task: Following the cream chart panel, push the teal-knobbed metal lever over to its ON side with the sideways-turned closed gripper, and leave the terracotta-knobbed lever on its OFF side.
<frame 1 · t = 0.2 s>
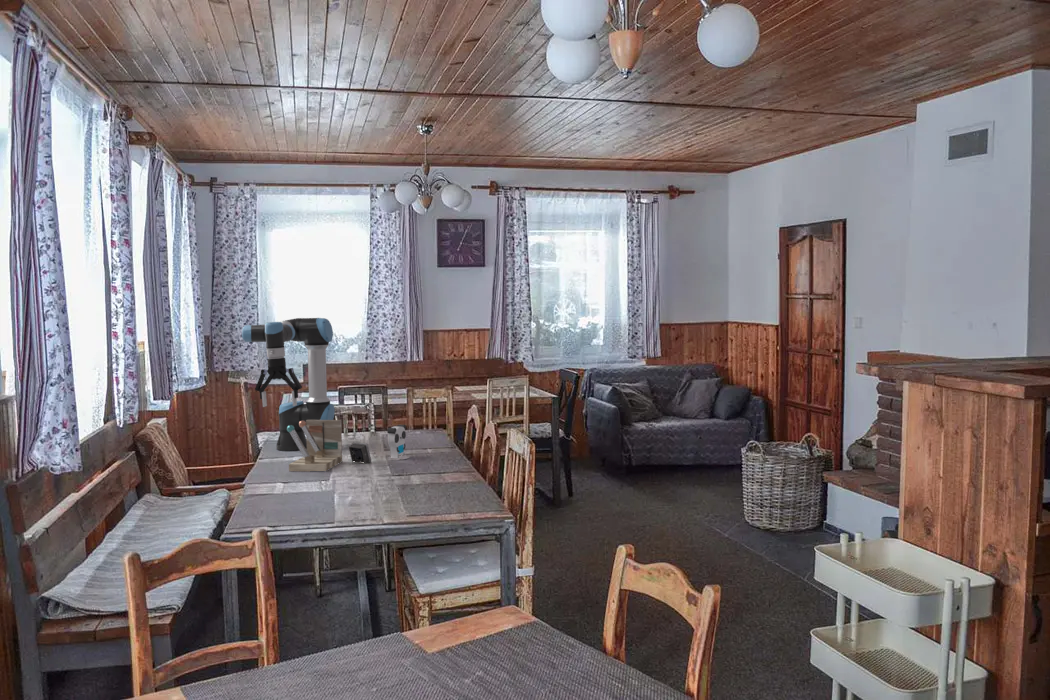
hand: (279, 406, 359), 27 cm above the table, tool pointing down, fingers open, 13 cm apart
teal lever: (298, 442, 356), point 12 cm above the table, hinge at -30.0°
electrical switch: (360, 463, 372), on the table
switch unit: (316, 466, 364), on the table
terracotta lever: (310, 437, 370), point 12 cm above the table, hinge at -30.0°
panda figurine: (397, 458, 381), on the table
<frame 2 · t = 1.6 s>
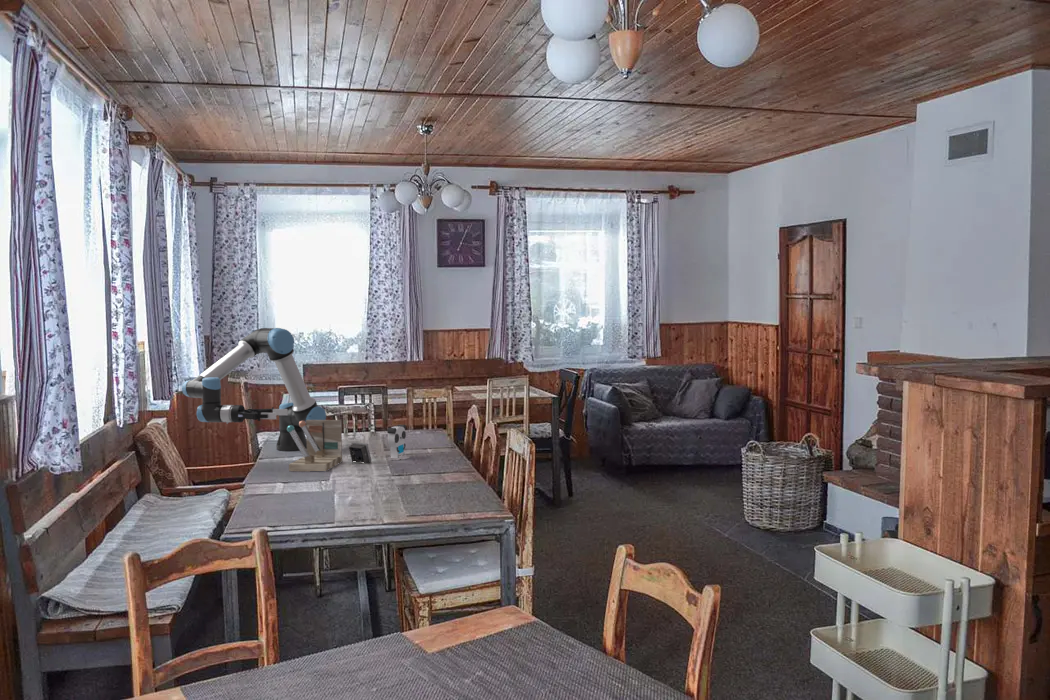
hand: (281, 414, 356), 24 cm above the table, tool horizontal, fingers open, 12 cm apart
nothing on the table moved.
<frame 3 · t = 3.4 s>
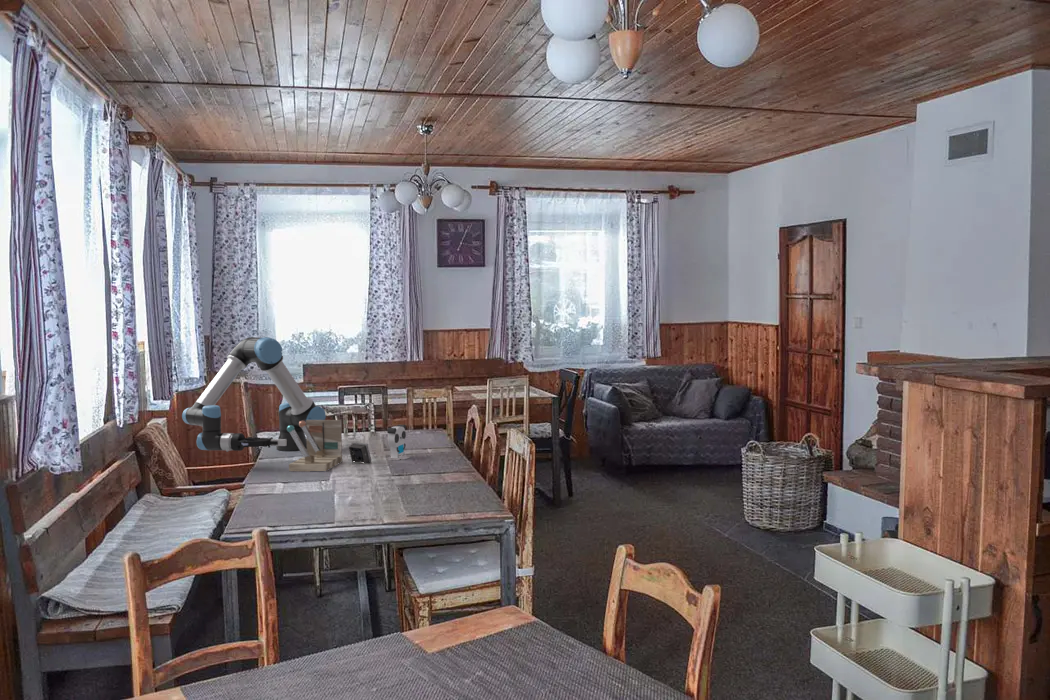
hand: (285, 442, 356), 12 cm above the table, tool horizontal, fingers closed
nothing on the table moved.
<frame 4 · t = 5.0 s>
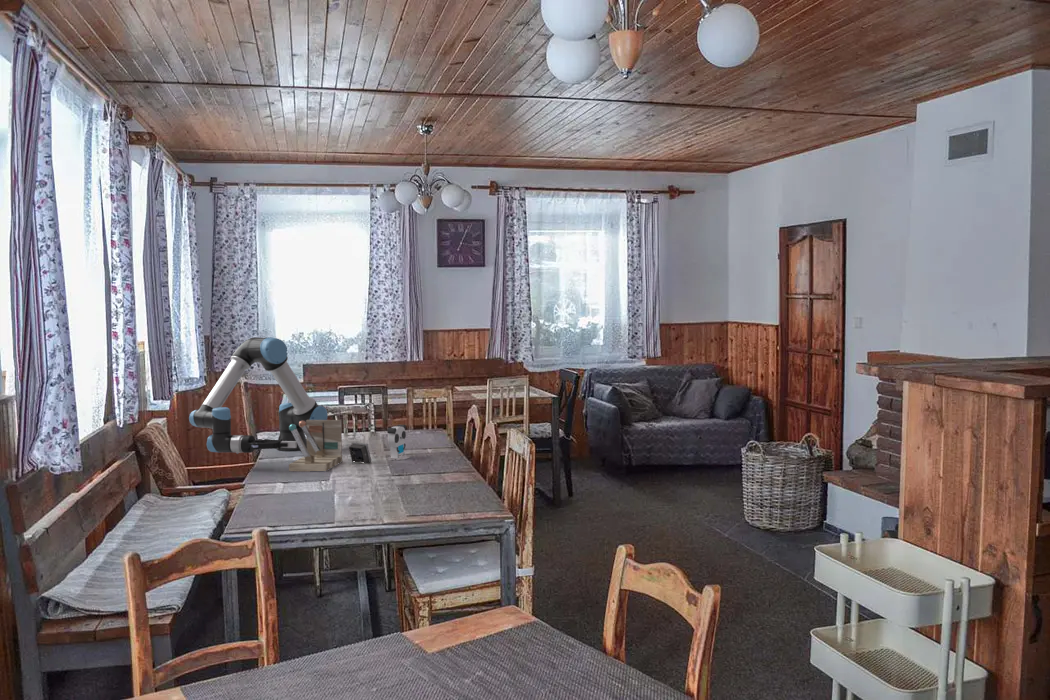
hand: (296, 444, 355), 11 cm above the table, tool horizontal, fingers closed
teal lever: (299, 442, 356), point 12 cm above the table, hinge at -26.4°, touching gripper
everything else where it was.
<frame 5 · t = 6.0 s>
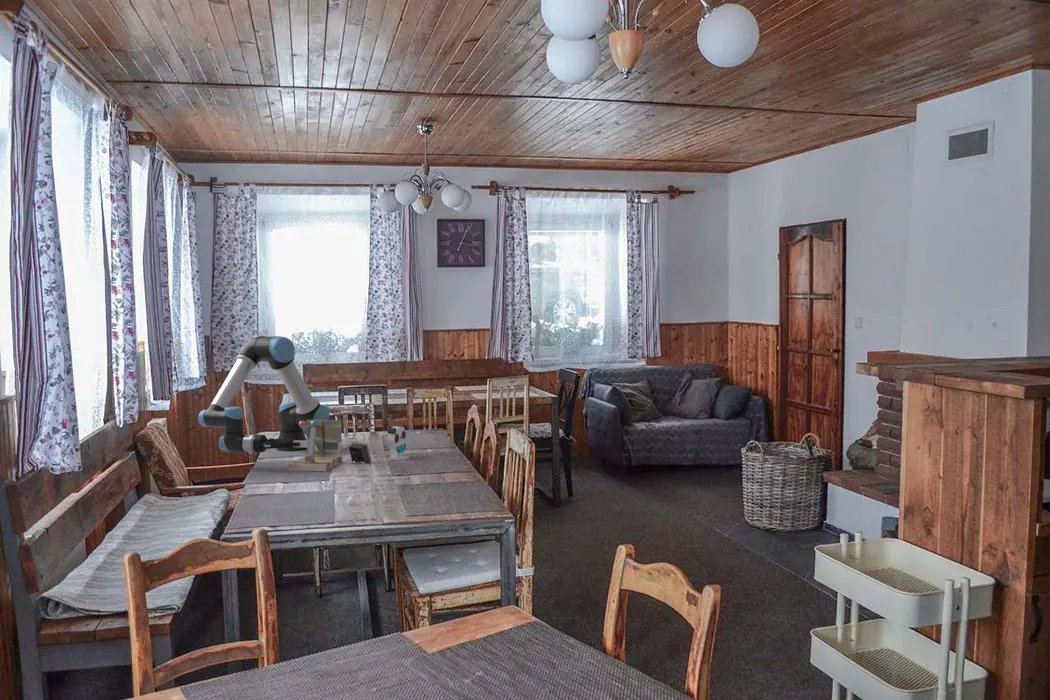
hand: (308, 444, 354), 11 cm above the table, tool horizontal, fingers closed
teal lever: (312, 440, 355), point 13 cm above the table, hinge at 7.9°, touching gripper
everything else where it was.
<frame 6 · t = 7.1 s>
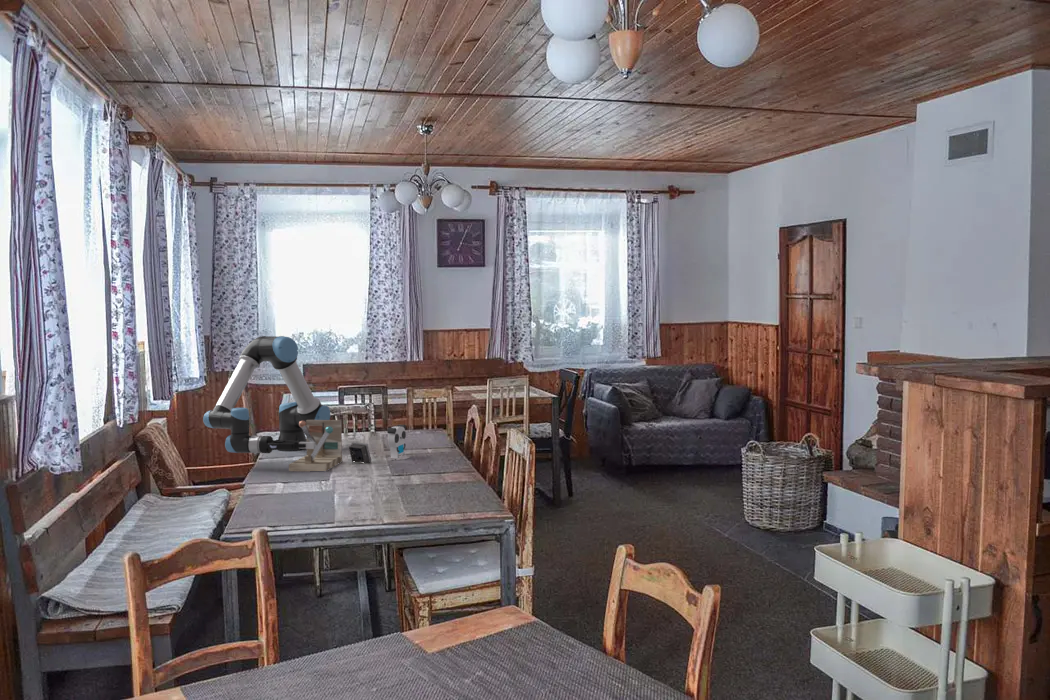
hand: (314, 445, 354), 11 cm above the table, tool horizontal, fingers closed
teal lever: (321, 443, 355), point 12 cm above the table, hinge at 32.4°, touching gripper
everything else where it was.
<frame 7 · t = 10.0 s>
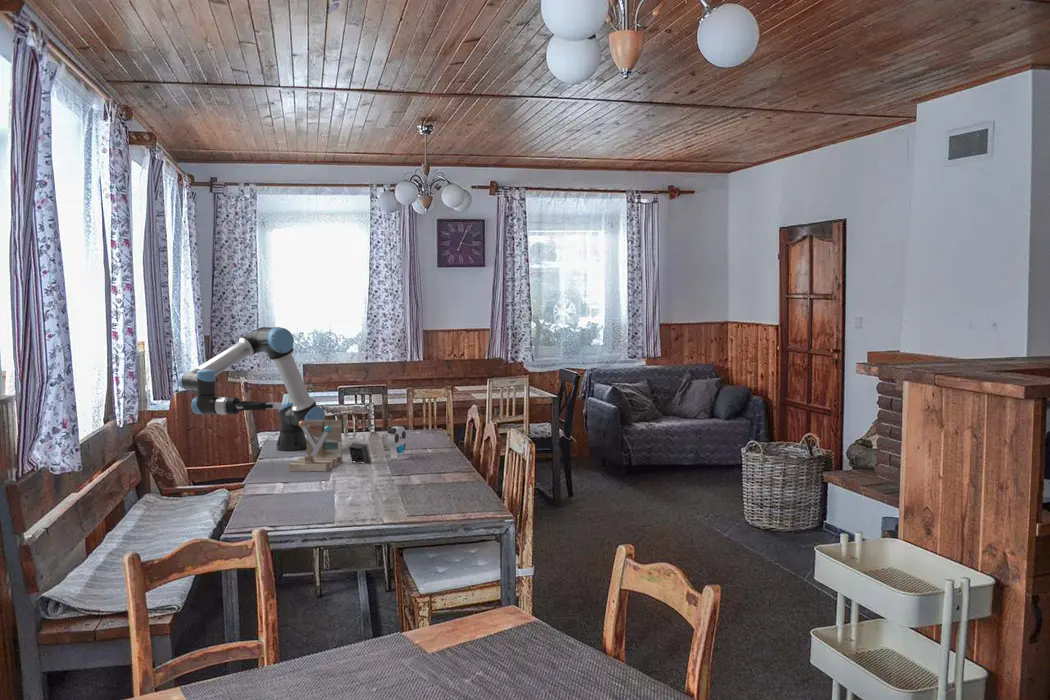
hand: (280, 405, 356), 28 cm above the table, tool horizontal, fingers closed
teal lever: (320, 443, 355), point 12 cm above the table, hinge at 30.6°
everything else where it was.
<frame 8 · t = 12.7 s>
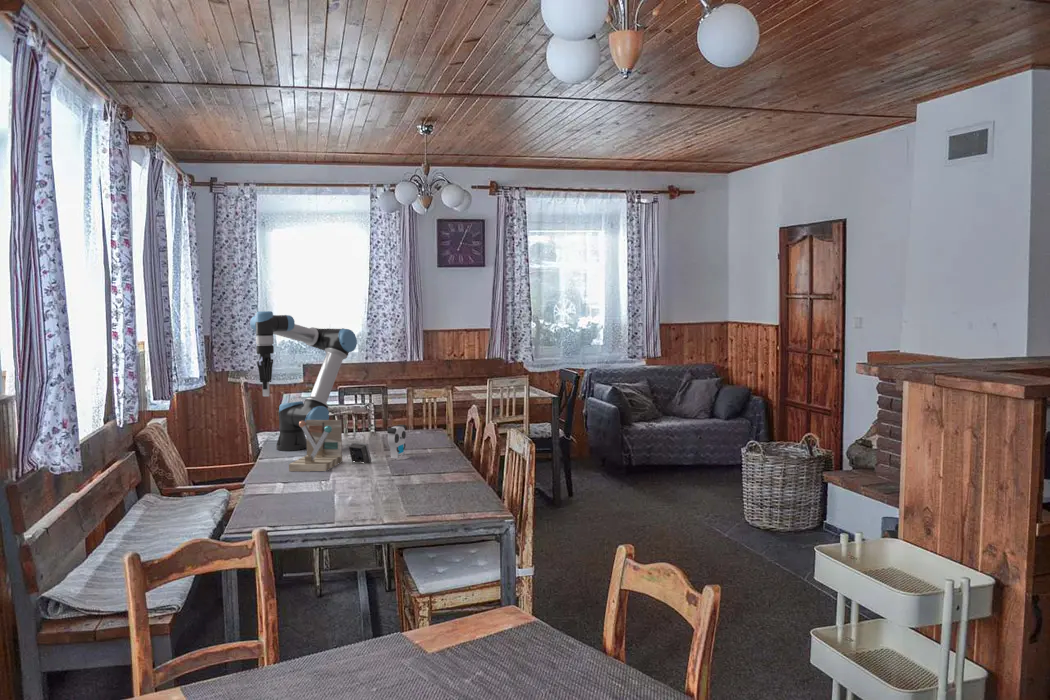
hand: (266, 396, 378), 29 cm above the table, tool pointing down, fingers closed
nothing on the table moved.
at the end: teal lever at +31° (first picture: -30°); terracotta lever at -30° (first picture: -30°) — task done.
